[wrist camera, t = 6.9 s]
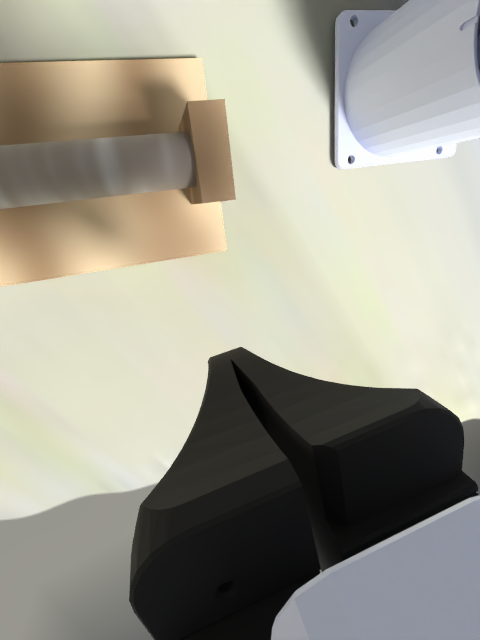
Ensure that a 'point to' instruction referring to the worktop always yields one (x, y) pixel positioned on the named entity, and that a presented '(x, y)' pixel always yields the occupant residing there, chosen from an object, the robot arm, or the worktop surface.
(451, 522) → the robot arm
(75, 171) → the pipe rig
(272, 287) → the worktop surface
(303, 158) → the worktop surface
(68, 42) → the worktop surface
